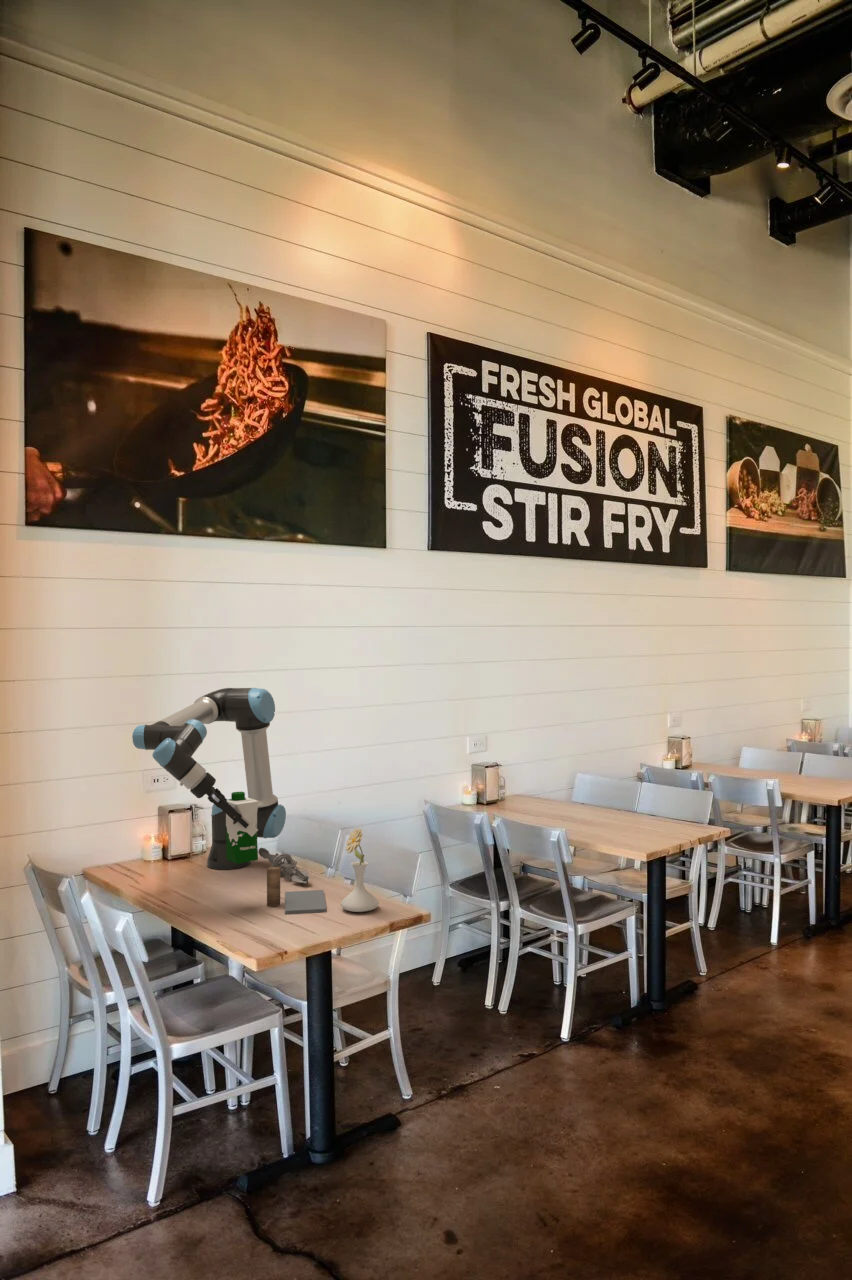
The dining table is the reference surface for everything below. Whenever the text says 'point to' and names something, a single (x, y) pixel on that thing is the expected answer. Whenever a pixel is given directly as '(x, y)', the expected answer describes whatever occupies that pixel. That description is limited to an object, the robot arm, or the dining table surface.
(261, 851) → the spaceship
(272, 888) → the wooden pepper mill
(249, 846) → the soya milk
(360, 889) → the flower in vase
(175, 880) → the dining table surface
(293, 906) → the slate mat
